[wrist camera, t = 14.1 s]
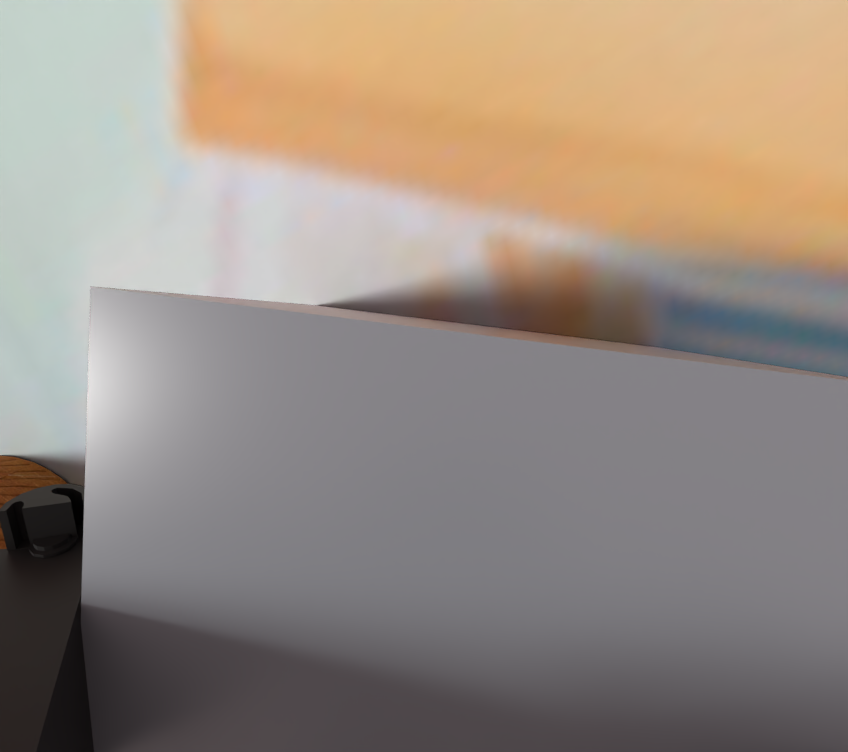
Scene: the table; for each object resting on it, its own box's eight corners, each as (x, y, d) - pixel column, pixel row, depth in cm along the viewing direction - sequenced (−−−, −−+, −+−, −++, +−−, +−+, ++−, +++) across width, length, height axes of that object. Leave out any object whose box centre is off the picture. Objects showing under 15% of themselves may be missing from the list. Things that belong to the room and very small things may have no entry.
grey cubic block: (597, 666, 15) (753, 1122, 7) (288, 609, 16) (70, 940, 8) (656, 346, 14) (946, 392, 5) (315, 305, 15) (90, 286, 6)
